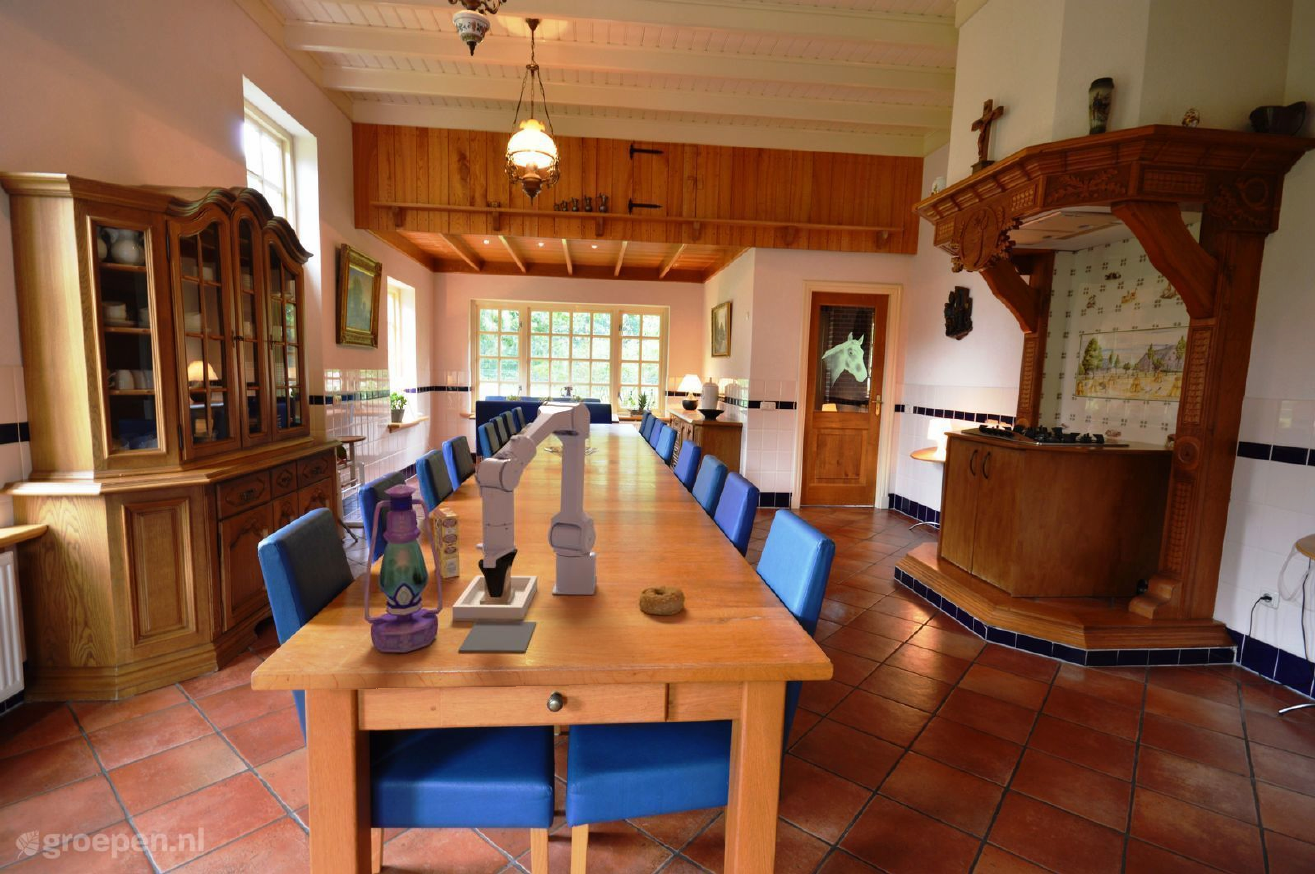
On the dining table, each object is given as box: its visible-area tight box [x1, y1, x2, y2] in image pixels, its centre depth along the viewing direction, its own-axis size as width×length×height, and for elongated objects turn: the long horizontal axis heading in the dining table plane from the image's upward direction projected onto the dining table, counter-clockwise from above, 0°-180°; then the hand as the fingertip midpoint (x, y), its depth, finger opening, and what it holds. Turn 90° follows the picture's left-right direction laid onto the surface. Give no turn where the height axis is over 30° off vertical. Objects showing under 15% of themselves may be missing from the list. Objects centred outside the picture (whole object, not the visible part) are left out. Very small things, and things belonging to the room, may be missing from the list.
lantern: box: [363, 483, 443, 653], centre depth 110 cm, size 13×12×30 cm
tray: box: [452, 574, 538, 622], centre depth 130 cm, size 14×18×3 cm
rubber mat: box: [457, 621, 537, 654], centre depth 114 cm, size 12×12×1 cm
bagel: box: [638, 585, 686, 616], centre depth 130 cm, size 10×11×5 cm
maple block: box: [484, 566, 512, 604], centre depth 113 cm, size 4×4×6 cm
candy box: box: [432, 507, 461, 579], centre depth 147 cm, size 9×4×15 cm, turn 33°
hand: (498, 591), depth 113 cm, fingers closed on maple block, 4 cm apart
